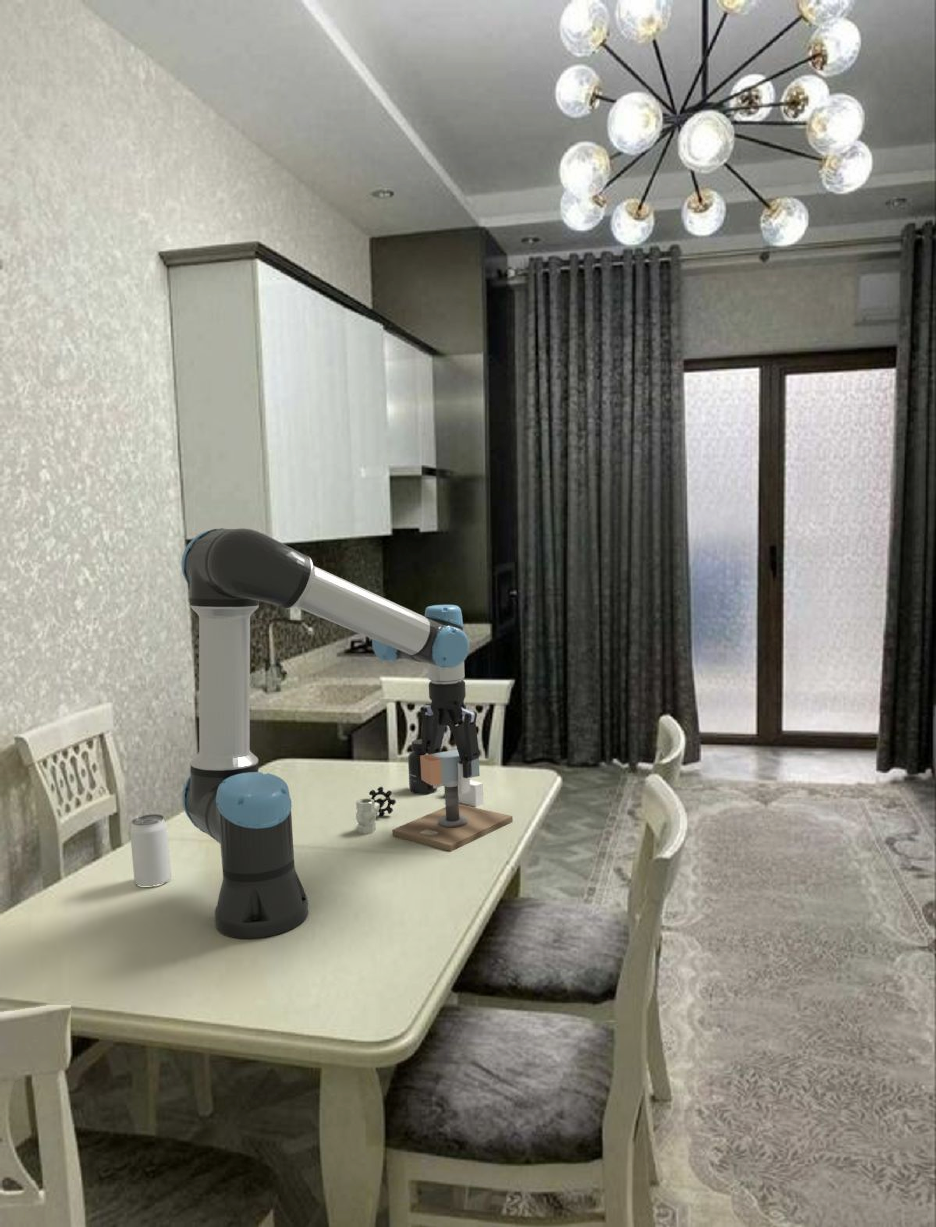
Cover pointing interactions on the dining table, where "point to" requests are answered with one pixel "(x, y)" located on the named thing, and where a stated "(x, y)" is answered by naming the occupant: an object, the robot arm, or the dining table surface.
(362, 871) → the dining table surface
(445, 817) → the board
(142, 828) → the can
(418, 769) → the supplement bottle
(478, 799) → the white stepped block
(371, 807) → the valve
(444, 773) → the blue-orange block
